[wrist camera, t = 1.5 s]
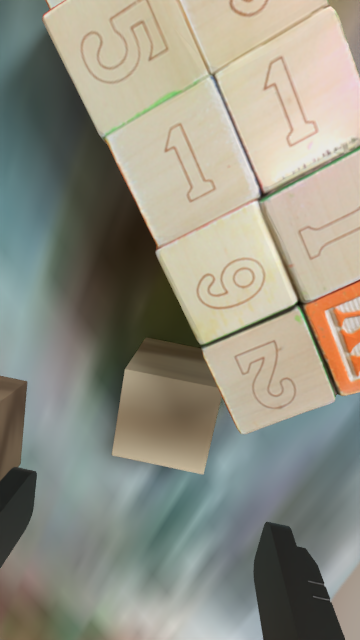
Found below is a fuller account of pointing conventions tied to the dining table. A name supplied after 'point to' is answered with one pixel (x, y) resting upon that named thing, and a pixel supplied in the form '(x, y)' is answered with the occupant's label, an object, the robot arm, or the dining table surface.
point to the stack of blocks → (238, 179)
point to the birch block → (167, 407)
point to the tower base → (11, 422)
